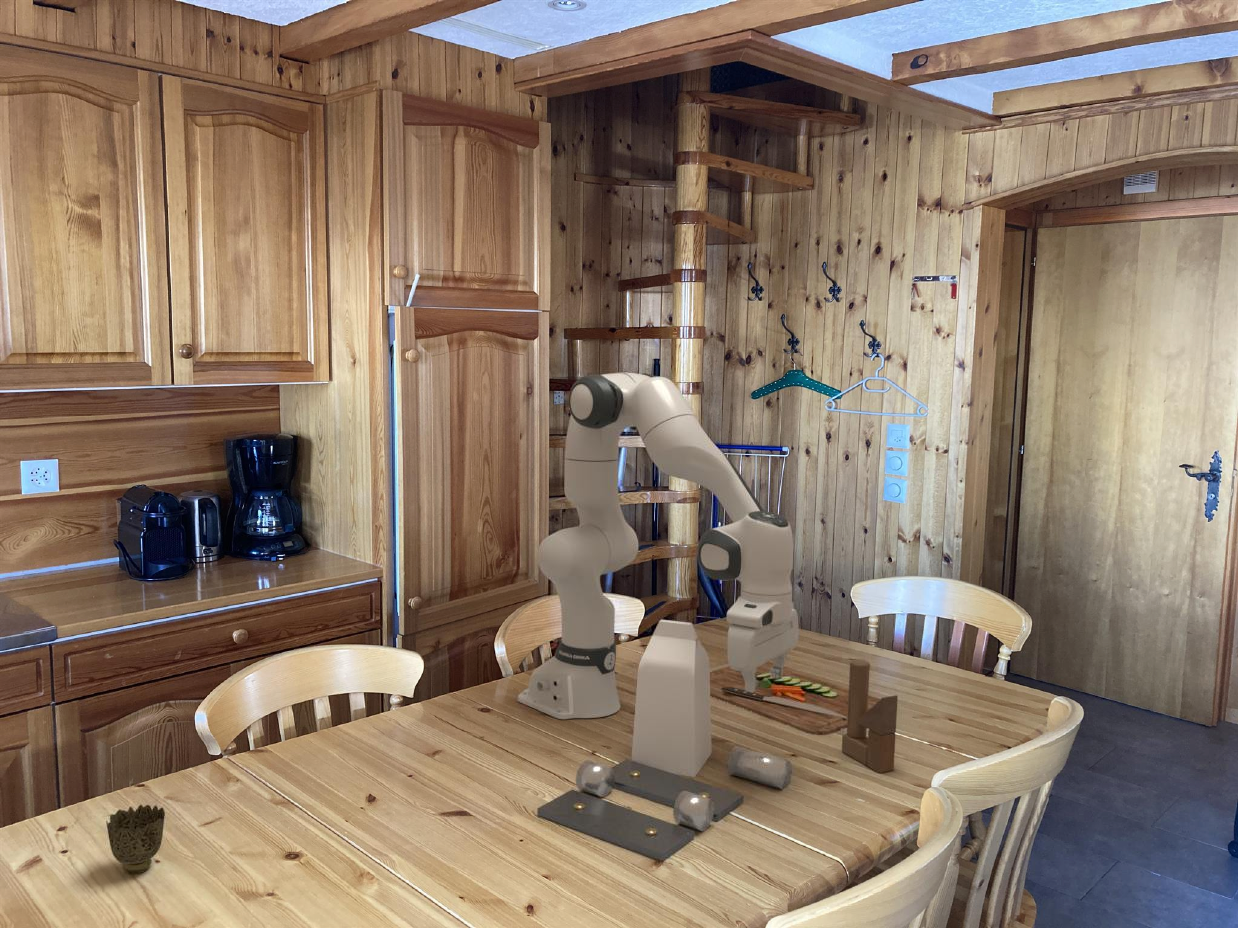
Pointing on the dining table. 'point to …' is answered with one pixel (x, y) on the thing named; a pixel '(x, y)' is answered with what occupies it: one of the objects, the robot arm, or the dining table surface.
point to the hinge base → (634, 828)
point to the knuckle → (760, 767)
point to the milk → (673, 702)
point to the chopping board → (787, 698)
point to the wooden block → (869, 723)
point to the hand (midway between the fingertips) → (764, 683)
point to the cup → (136, 836)
